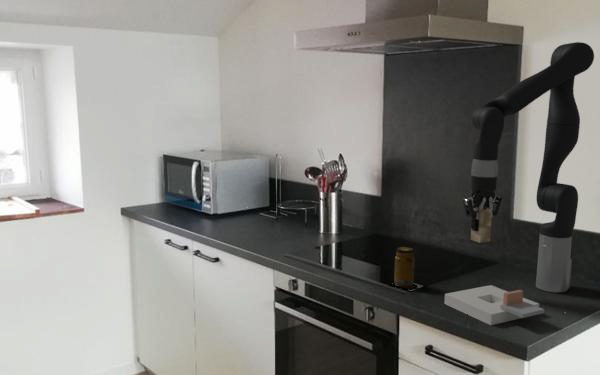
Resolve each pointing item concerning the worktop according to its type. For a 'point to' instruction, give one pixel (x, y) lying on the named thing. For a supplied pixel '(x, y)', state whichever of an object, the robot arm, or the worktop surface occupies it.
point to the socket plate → (482, 304)
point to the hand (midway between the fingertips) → (480, 230)
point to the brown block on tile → (519, 305)
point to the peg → (483, 226)
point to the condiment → (405, 268)
